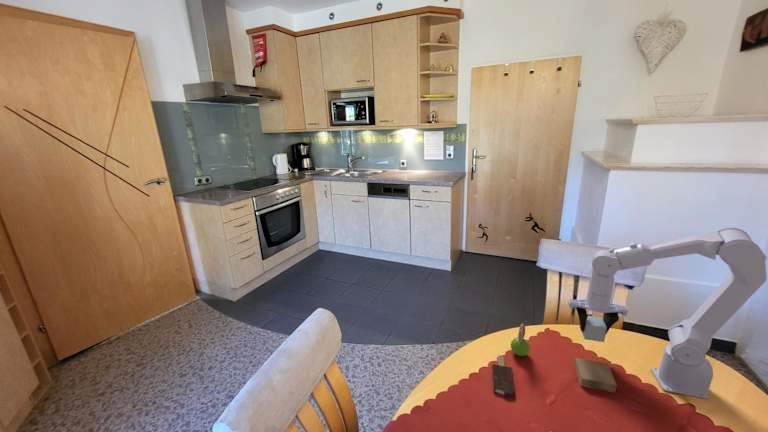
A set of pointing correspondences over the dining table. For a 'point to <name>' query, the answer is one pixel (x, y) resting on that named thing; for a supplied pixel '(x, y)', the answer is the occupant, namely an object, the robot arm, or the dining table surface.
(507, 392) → the ice cream bar
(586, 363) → the walnut block
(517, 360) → the dining table surface
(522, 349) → the green candy apple
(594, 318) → the slate-blue cube
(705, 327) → the robot arm
